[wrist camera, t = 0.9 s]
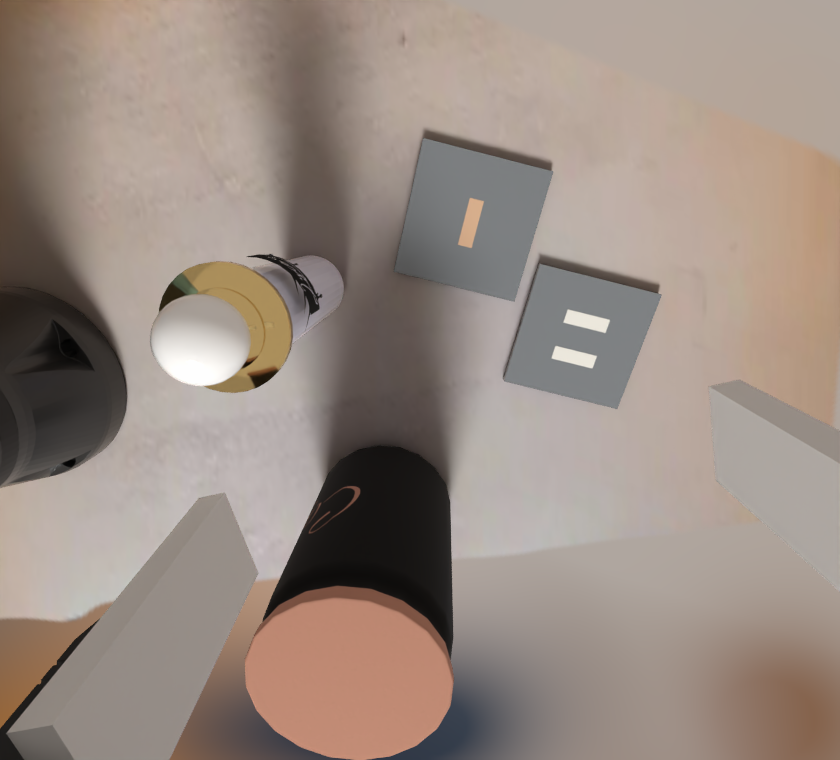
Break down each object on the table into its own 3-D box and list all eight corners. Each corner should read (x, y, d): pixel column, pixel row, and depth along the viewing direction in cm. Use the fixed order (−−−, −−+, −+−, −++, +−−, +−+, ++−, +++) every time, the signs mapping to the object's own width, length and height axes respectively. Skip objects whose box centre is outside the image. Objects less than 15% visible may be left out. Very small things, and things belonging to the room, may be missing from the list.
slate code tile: (503, 378, 38) (504, 381, 38) (538, 263, 36) (540, 264, 35) (614, 406, 39) (617, 409, 38) (658, 293, 36) (662, 294, 35)
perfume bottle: (321, 339, 38) (199, 454, 19) (262, 288, 37) (70, 356, 18) (369, 283, 37) (289, 346, 18) (308, 229, 36) (154, 234, 17)
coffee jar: (363, 415, 40) (302, 560, 23) (474, 479, 41) (496, 662, 24) (303, 513, 43) (209, 705, 26) (408, 570, 44) (386, 789, 27)
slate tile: (394, 270, 36) (393, 271, 36) (423, 139, 34) (423, 137, 33) (513, 300, 37) (514, 301, 36) (551, 172, 34) (553, 171, 33)
